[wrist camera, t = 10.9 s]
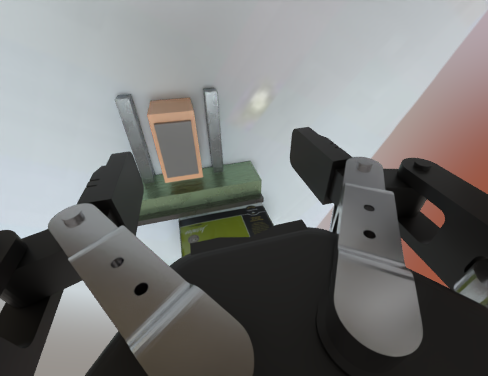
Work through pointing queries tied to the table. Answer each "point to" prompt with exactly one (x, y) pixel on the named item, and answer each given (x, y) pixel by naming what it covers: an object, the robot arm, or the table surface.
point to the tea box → (223, 224)
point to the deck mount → (192, 190)
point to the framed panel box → (175, 138)
